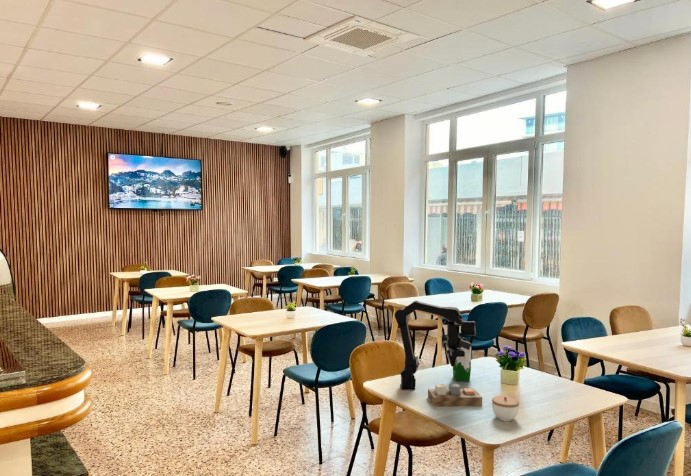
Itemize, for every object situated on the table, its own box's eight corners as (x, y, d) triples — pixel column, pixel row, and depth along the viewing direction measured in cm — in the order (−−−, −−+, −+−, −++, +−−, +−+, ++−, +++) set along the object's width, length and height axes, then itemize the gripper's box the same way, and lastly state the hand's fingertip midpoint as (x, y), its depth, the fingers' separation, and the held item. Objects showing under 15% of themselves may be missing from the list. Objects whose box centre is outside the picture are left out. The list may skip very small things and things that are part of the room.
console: (433, 406, 216) (433, 397, 216) (427, 397, 227) (428, 389, 227) (482, 406, 217) (482, 397, 217) (473, 397, 228) (474, 388, 228)
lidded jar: (503, 425, 197) (504, 402, 197) (486, 415, 207) (486, 393, 207) (524, 421, 201) (524, 399, 201) (505, 411, 211) (506, 390, 211)
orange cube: (465, 400, 220) (465, 391, 220) (462, 397, 224) (462, 388, 224) (474, 400, 221) (474, 391, 220) (471, 396, 224) (471, 388, 224)
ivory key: (437, 395, 219) (437, 387, 219) (435, 392, 223) (435, 384, 223) (446, 395, 220) (446, 386, 219) (443, 392, 224) (443, 383, 223)
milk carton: (451, 376, 258) (451, 339, 257) (468, 376, 258) (469, 339, 257) (454, 381, 249) (455, 343, 249) (472, 382, 249) (473, 343, 249)
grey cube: (451, 395, 220) (451, 386, 220) (449, 392, 224) (449, 383, 224) (460, 395, 220) (460, 386, 220) (457, 392, 224) (457, 383, 224)
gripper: (476, 338, 223) (475, 372, 224) (463, 329, 242) (462, 360, 242) (452, 338, 222) (451, 372, 223) (441, 329, 241) (441, 360, 242)
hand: (452, 366), depth 233 cm, fingers closed
